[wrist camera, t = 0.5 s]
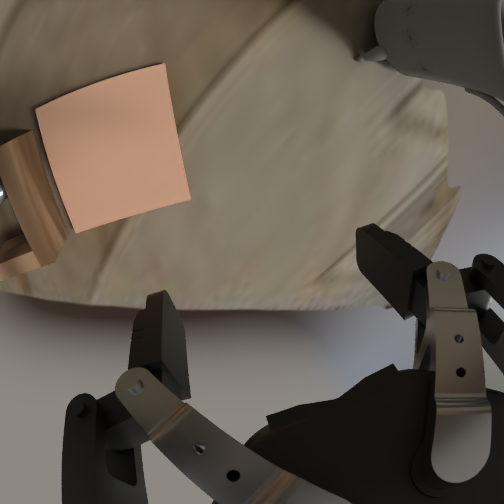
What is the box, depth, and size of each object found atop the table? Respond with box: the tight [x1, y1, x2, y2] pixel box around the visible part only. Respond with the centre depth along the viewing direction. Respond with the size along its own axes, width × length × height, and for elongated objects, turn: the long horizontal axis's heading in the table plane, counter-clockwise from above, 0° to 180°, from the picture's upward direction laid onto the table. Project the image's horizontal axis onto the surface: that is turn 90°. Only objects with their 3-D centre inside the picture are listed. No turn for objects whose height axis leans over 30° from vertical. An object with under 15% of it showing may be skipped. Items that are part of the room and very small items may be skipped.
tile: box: [35, 63, 191, 233], centre depth 25 cm, size 15×14×1 cm
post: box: [0, 176, 8, 204], centre depth 20 cm, size 2×2×6 cm
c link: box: [0, 130, 69, 281], centre depth 21 cm, size 10×13×6 cm
